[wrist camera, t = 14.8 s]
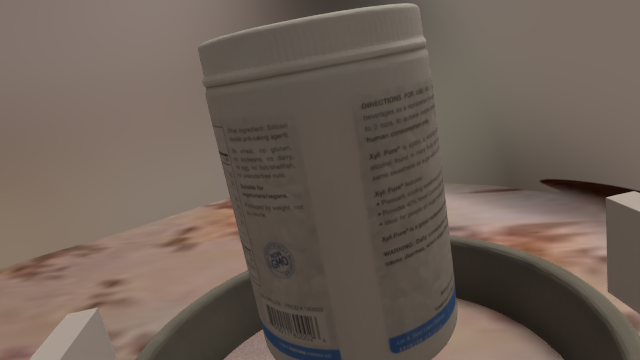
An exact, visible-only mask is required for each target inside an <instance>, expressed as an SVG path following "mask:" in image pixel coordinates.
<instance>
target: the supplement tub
mask: <svg viewBox="0 0 640 360" xmlns="http://www.w3.org/2000/svg"><path fill="white" fill-rule="evenodd" d="M426 43H427V42H426V40H425V38H424V36H423V33H422V25H421V18H420V12H419V7H418V6H416V5H415V4H391V5H383V6H374V7H366V8H359V9H352V10H346V11H339V12H333V13H327V14H321V15H316V16H310V17H305V18H300V19H295V20H290V21H285V22H280V23H275V24H270V25H265V26H261V27H256V28H252V29H248V30H244V31H240V32H236V33H232V34H228V35H225V36H221V37H218V38H215V39H212V40H209V41H206V42H204V43H202V44H201V45H200V46H199V48H198V51H199V56H200V61H201V65H202V69H203V75H204V78H203V85H204V86H205V87H206V99H207V104H208V108H209V112H210V116H211V121H212V125H213V129H214V133H215V137H216V141H217V145H218V149H219V153H220V157H221V161H222V165H223V169H224V174H225V178H226V182H227V186H228V190H229V194H230V198H231V202H232V206H233V210H234V214H235V218H236V222H237V226H238V230H239V235H240V239H241V243H242V247H243V251H244V255H245V259H246V263H247V267H248V271H249V275H250V279H251V283H252V287H253V291H254V295H255V300H256V304H257V308H258V312H259V316H260V320H261V324H262V328H263V331H264V336H265V340H266V343H267V346H268V348H269V350H270V352H271V354H272V355H273V357H274V358H275V359H276V360H431V359H432V358H434V357H435V356H436V355H437V354H438V353H439V352H440V351H441V350H442V349H443V348H444V347H445V345H446V344H447V343H448V341H449V339H450V337H451V336H452V333H453V331H454V328H455V325H456V320H457V302H456V291H455V282H454V273H453V263H452V254H451V246H450V236H449V227H448V218H447V210H446V201H445V191H444V182H443V175H442V165H441V156H440V148H439V140H438V131H437V122H436V113H435V105H434V94H433V85H432V78H431V72H430V63H429V54H428V51H427V50H426V48H425V46H426Z"/></svg>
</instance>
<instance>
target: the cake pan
mask: <svg viewBox="0 0 640 360" xmlns="http://www.w3.org/2000/svg"><path fill="white" fill-rule="evenodd" d="M450 246H451V254H452V263H453V273H454V282H455V291H456V298H460V299H464V300H467V301H471V302H474V303H477V304H480V305H483V306H485V307H488V308H490V309H493V310H495V311H498V312H500V313H502V314H504V315H506V316H508V317H510V318H512V319H514V320H515V321H517V322H519V323H521V324H522V325H524V326H525V327H527V328H528V329H530V330H531V331H533V332H534V333H536V334H537V335H538V336H540V337H541V338H542V339H543V340H544V341H546V342H547V343H548V344H549V345H550V346H551V347H552V348H553V349H555V350H556V351H557V352H558V353H559V354H560V355H561V356H562V357H563V359H564V360H640V337H639V335H638V333H637V332H636V330H635V329H634V328H633V326H632V325H631V324H630V322H629V321H628V320H627V318H626V317H625V316H624V315H623V314H622V313H621V312H620V311H619V310H618V309H617V308H616V307H615V306H614V305H613V304H612V303H611V302H610V301H609V300H608V299H607V298H606V297H605V296H604V295H603V294H601V293H600V292H599V291H597V290H596V289H595V288H594V287H592V286H591V285H589V284H588V283H586V282H585V281H583V280H582V279H580V278H579V277H577V276H576V275H574V274H572V273H571V272H569V271H567V270H565V269H563V268H561V267H559V266H557V265H555V264H553V263H551V262H549V261H547V260H545V259H542V258H540V257H537V256H535V255H532V254H529V253H527V252H524V251H521V250H517V249H514V248H511V247H508V246H504V245H500V244H496V243H491V242H487V241H482V240H476V239H470V238H464V237H456V236H450ZM262 329H263V328H262V324H261V320H260V316H259V312H258V308H257V304H256V300H255V295H254V291H253V287H252V283H251V279H250V275H249V271H248V270H247V271H245V272H243V273H241V274H239V275H237V276H235V277H233V278H231V279H229V280H227V281H226V282H224V283H222V284H221V285H219V286H217V287H215V288H214V289H212V290H211V291H209V292H208V293H206V294H205V295H203V296H202V297H200V298H199V299H197V300H196V301H195V302H193V303H192V304H190V305H189V306H188V307H187V308H185V309H184V310H183V311H181V312H180V313H179V314H178V315H177V316H175V317H174V318H173V319H172V320H171V321H170V322H169V323H168V324H167V325H165V326H164V327H163V328H162V329H161V330H160V331H159V332H158V334H157V335H156V336H155V337H154V338H153V339H152V340H151V341H150V342H149V343H148V344H147V345H146V347H145V348H144V349H143V350H142V352H141V353H140V354H139V356H138V357H137V358H136V359H135V360H223V359H224V358H226V357H227V356H228V355H229V354H230V353H231V352H232V351H233V350H235V349H236V348H237V347H238V346H239V345H241V344H242V343H243V342H244V341H246V340H247V339H249V338H250V337H252V336H253V335H254V334H256V333H257V332H259V331H260V330H262Z"/></svg>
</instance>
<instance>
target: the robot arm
mask: <svg viewBox="0 0 640 360" xmlns="http://www.w3.org/2000/svg"><path fill="white" fill-rule="evenodd" d="M606 227H607V279H608V292H609V293H610V294H612V295H613V296H615V297H616V298H618V299H619V300H620V301H622V302H623V303H625V304H626V305H628V306H629V307H630V308H632V309H633V310H635V311H636V312H638V313H639V314H640V193H638V192H635V191H634V192H629V193H624V194H620V195H615V196H611V197H606ZM29 360H117V357H116V354H115V352H114V349H113V346H112V344H111V341H110V338H109V336H108V333H107V330H106V328H105V325H104V322H103V320H102V317H101V314H100V311H99V309H98V308H94V309H90V310H85V311H81V312H76V313H71V314H67V315H66V316H65V318H64V319H63V320H62V321H61V322H60V324H59V325H58V326H57V327H56V328H55V330H54V331H53V332H52V333H51V334H50V336H49V337H48V338H47V339H46V340H45V342H44V343H43V344H42V345H41V346H40V347H39V349H38V350H37V351H36V352H35V353H34V355H33V356H32V357H31V358H30V359H29Z"/></svg>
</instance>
